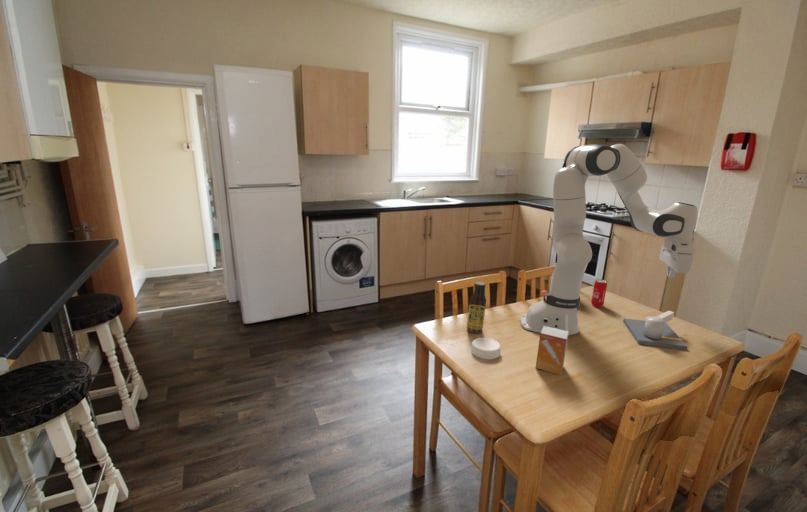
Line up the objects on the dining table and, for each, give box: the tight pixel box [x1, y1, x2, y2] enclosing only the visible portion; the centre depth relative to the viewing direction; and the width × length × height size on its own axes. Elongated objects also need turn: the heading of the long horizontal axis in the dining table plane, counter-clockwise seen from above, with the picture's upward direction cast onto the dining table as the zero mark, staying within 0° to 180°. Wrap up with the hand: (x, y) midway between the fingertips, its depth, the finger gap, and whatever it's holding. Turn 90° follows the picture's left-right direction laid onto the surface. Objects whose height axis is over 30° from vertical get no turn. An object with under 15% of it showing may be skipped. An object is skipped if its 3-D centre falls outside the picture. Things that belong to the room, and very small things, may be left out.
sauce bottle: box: [466, 281, 487, 334], centre depth 149 cm, size 7×6×20 cm
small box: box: [535, 326, 570, 376], centre depth 125 cm, size 8×6×13 cm
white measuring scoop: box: [643, 310, 675, 339], centre depth 149 cm, size 17×6×6 cm, turn 125°
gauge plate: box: [622, 317, 688, 351], centre depth 151 cm, size 16×20×2 cm
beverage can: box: [591, 279, 608, 308], centre depth 178 cm, size 5×5×12 cm
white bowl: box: [471, 337, 502, 360], centre depth 135 cm, size 10×10×4 cm
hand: (670, 277), depth 155 cm, fingers closed
